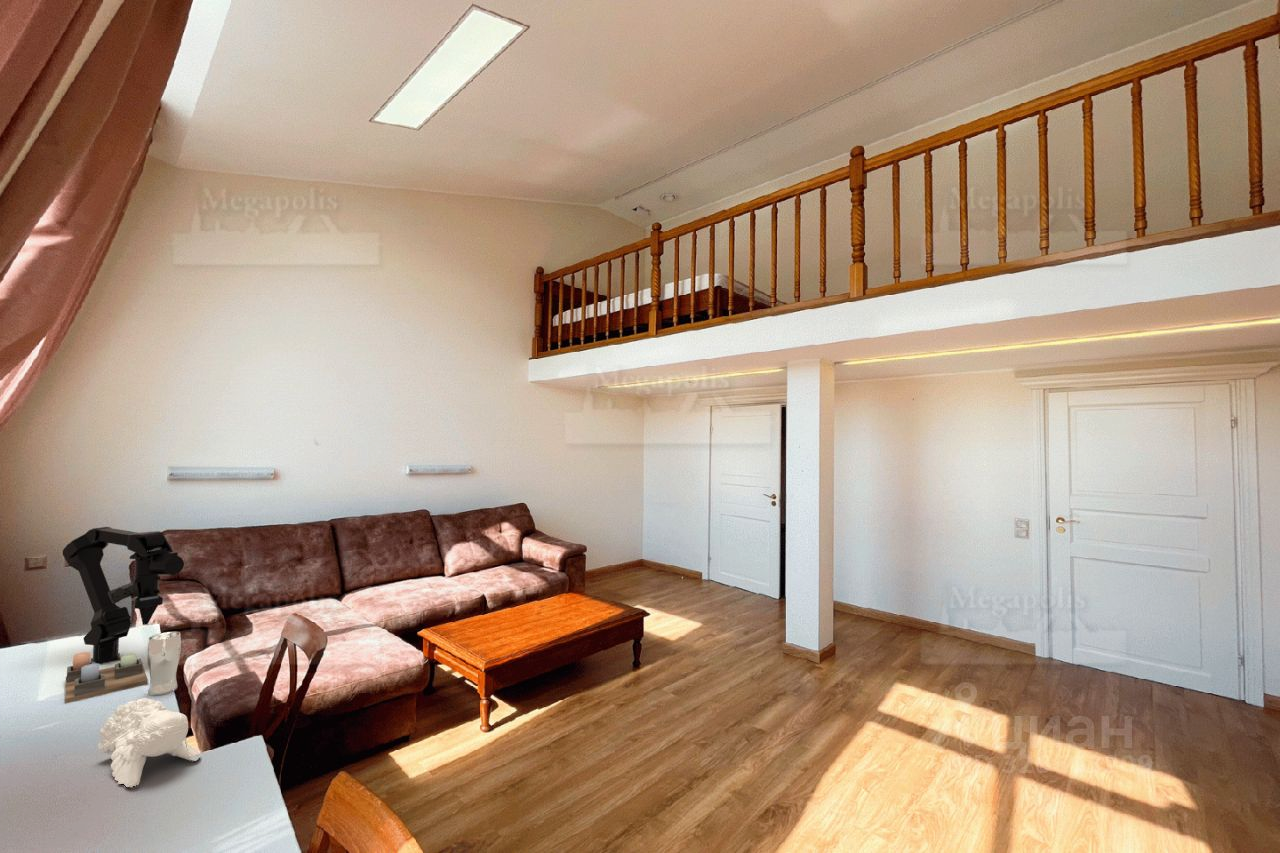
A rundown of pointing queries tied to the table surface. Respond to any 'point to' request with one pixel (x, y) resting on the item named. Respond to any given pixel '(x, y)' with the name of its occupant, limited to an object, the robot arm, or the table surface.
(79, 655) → the terracotta button
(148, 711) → the white curly sculpture
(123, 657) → the sage button
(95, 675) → the slate button
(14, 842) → the table surface
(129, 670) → the button panel
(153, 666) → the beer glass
